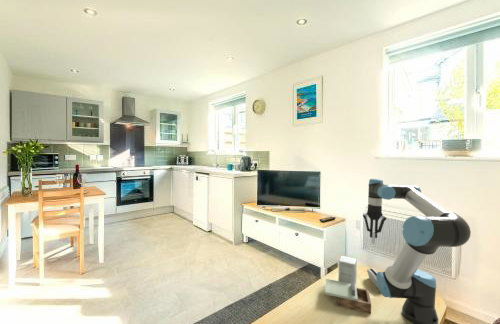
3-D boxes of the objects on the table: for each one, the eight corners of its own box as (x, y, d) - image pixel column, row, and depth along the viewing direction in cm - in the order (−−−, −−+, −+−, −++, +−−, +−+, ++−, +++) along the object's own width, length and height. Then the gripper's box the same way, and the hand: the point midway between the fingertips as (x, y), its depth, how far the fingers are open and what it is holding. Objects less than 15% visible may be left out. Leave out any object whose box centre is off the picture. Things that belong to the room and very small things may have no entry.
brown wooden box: (367, 298, 139) (368, 289, 139) (370, 313, 126) (371, 304, 126) (338, 292, 145) (338, 283, 144) (338, 306, 132) (338, 297, 131)
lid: (355, 286, 141) (356, 279, 141) (357, 301, 128) (358, 293, 127) (326, 280, 147) (326, 274, 147) (324, 294, 133) (325, 286, 133)
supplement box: (356, 284, 153) (357, 258, 152) (354, 292, 145) (355, 264, 144) (340, 280, 158) (341, 254, 157) (337, 287, 150) (338, 260, 149)
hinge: (390, 293, 145) (385, 277, 144) (382, 295, 145) (377, 279, 144) (376, 278, 161) (372, 264, 161) (369, 280, 162) (365, 266, 161)
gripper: (385, 204, 148) (384, 242, 149) (362, 202, 152) (360, 239, 154) (388, 206, 141) (386, 246, 142) (363, 204, 145) (361, 243, 147)
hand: (373, 242), depth 148 cm, fingers closed
